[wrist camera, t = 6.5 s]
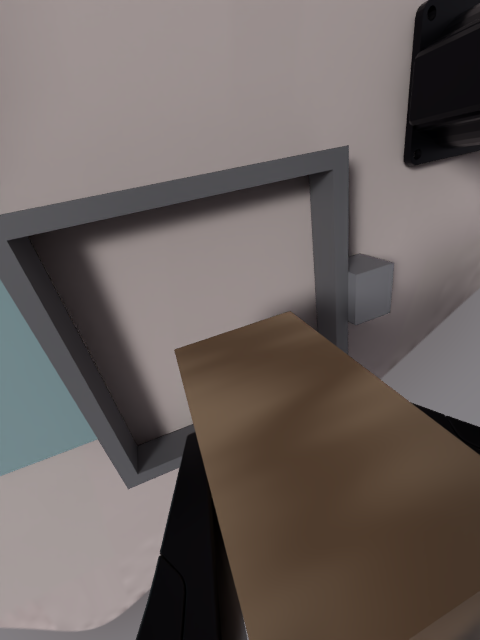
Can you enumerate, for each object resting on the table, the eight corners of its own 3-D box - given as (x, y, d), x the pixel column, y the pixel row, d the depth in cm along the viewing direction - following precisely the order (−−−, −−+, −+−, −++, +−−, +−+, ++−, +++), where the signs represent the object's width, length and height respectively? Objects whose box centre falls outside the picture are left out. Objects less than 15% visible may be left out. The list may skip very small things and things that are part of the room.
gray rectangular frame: (362, 143, 14) (404, 134, 12) (357, 367, 21) (383, 388, 19) (-8, 216, 11) (-45, 223, 9) (128, 459, 18) (128, 499, 15)
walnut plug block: (290, 311, 11) (574, 526, 4) (299, 398, 13) (493, 640, 6) (174, 349, 10) (273, 732, 3) (204, 437, 12) (304, 780, 5)
